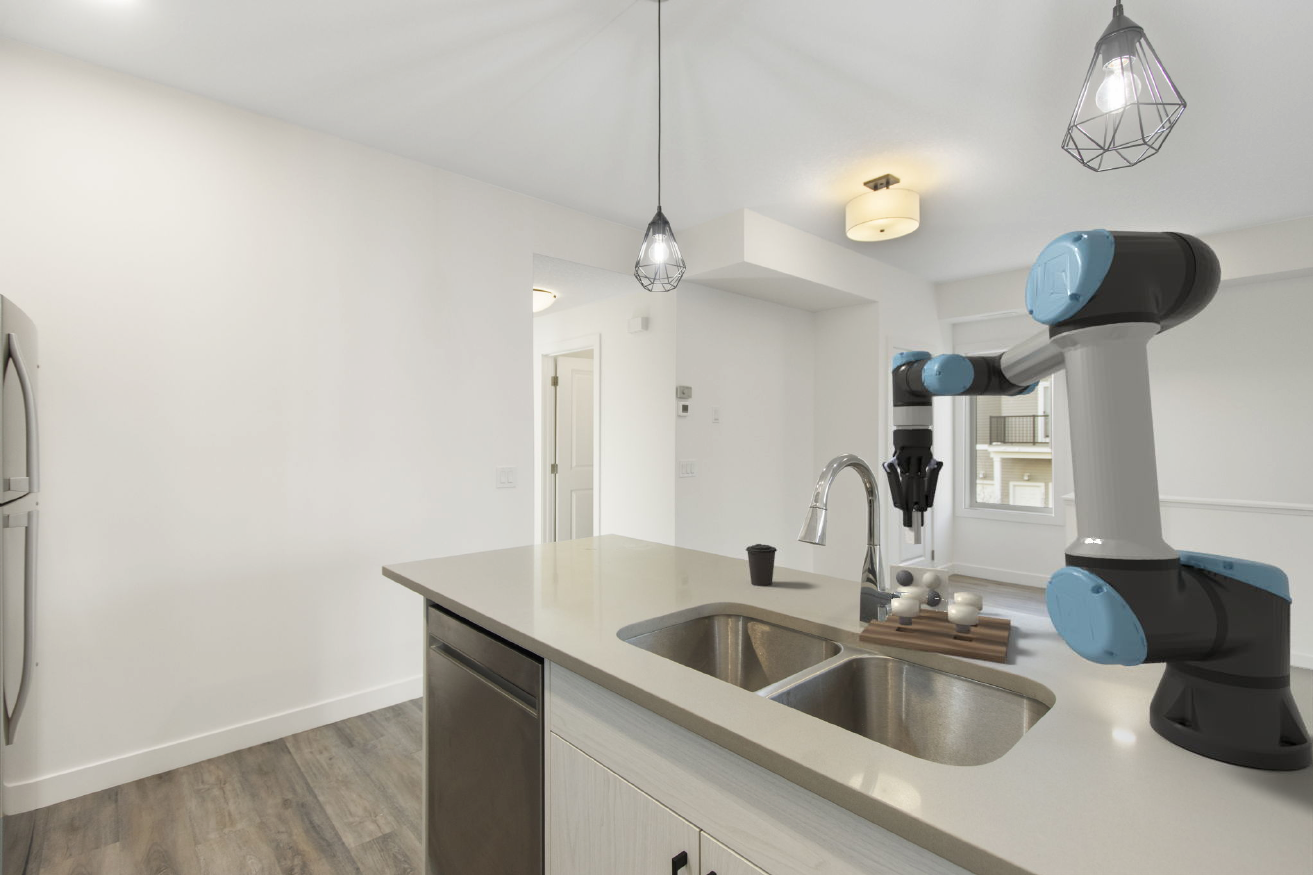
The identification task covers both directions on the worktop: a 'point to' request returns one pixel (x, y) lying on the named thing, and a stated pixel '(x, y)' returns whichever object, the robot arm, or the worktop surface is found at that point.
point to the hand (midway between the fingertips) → (913, 542)
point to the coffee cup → (761, 564)
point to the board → (943, 635)
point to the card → (922, 584)
